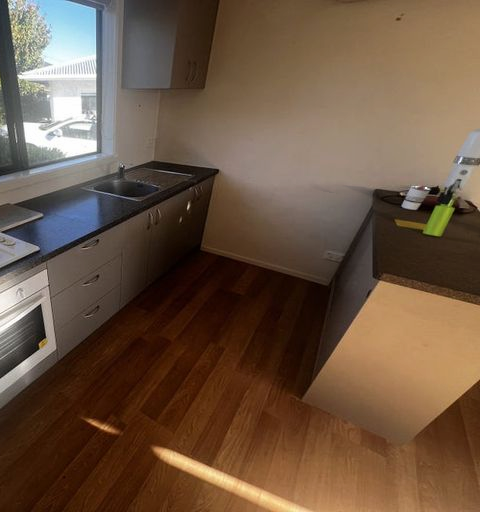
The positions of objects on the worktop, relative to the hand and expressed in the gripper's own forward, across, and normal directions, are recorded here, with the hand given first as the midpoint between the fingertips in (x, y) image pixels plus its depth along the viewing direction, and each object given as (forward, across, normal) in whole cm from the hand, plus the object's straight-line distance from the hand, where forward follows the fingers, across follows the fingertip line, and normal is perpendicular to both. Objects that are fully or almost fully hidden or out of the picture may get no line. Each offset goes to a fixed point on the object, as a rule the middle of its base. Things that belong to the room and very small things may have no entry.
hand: (442, 202), depth 131 cm
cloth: (+15, +9, +4) cm, 18 cm away
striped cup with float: (+15, +44, +4) cm, 46 cm away
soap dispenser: (+15, -3, -2) cm, 15 cm away
